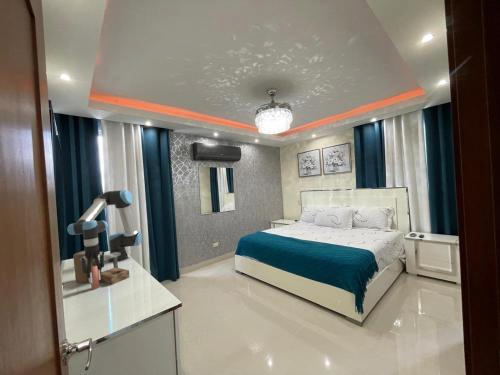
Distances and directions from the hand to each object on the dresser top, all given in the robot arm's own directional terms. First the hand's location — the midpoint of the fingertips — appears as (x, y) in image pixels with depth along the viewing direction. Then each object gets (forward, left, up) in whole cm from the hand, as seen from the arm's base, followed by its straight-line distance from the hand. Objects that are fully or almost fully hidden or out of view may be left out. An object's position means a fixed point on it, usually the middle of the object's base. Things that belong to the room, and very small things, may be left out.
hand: (94, 280), depth 142 cm
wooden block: (-5, -21, -5) cm, 22 cm away
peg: (0, 0, -5) cm, 5 cm away
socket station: (-13, -4, -5) cm, 14 cm away
